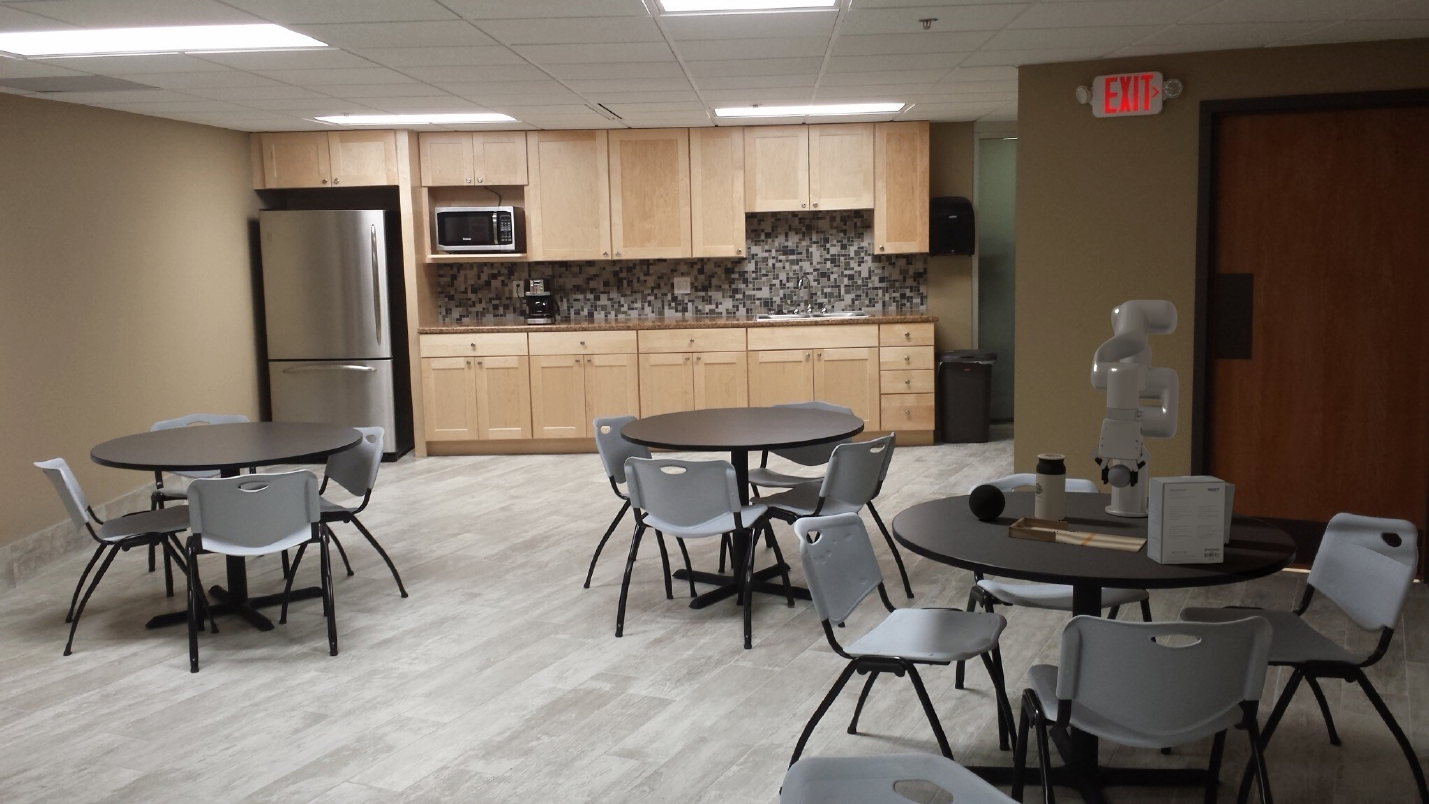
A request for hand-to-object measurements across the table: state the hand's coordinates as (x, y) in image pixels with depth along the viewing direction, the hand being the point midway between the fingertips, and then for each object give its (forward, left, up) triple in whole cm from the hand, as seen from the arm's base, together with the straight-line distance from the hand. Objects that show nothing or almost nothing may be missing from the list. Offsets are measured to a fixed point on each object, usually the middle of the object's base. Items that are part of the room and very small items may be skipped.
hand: (1119, 484), depth 273 cm
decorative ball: (-10, -37, -16) cm, 41 cm away
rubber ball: (0, 0, +2) cm, 2 cm away
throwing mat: (0, -10, -15) cm, 18 cm away
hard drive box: (+9, +17, -16) cm, 25 cm away
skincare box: (-14, +20, -16) cm, 29 cm away
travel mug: (-20, -22, -16) cm, 33 cm away
